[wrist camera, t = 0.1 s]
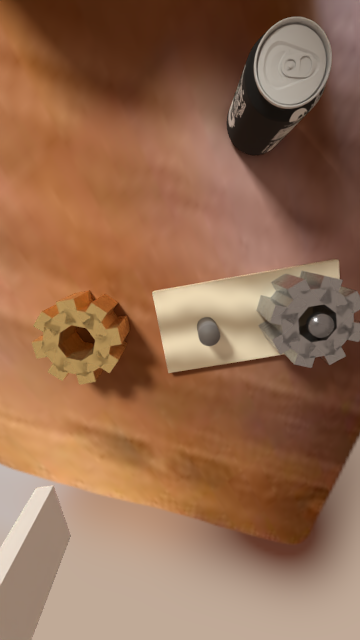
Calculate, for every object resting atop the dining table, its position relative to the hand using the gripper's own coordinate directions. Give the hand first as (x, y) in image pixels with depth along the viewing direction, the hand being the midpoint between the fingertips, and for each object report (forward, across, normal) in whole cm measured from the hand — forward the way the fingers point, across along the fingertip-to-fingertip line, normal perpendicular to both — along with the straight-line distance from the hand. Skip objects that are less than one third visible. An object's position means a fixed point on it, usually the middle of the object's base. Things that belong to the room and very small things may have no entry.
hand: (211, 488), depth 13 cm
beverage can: (+28, +11, +21) cm, 37 cm away
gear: (+27, +13, -1) cm, 30 cm away
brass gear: (+28, -13, +1) cm, 31 cm away
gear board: (+28, +7, -1) cm, 29 cm away
